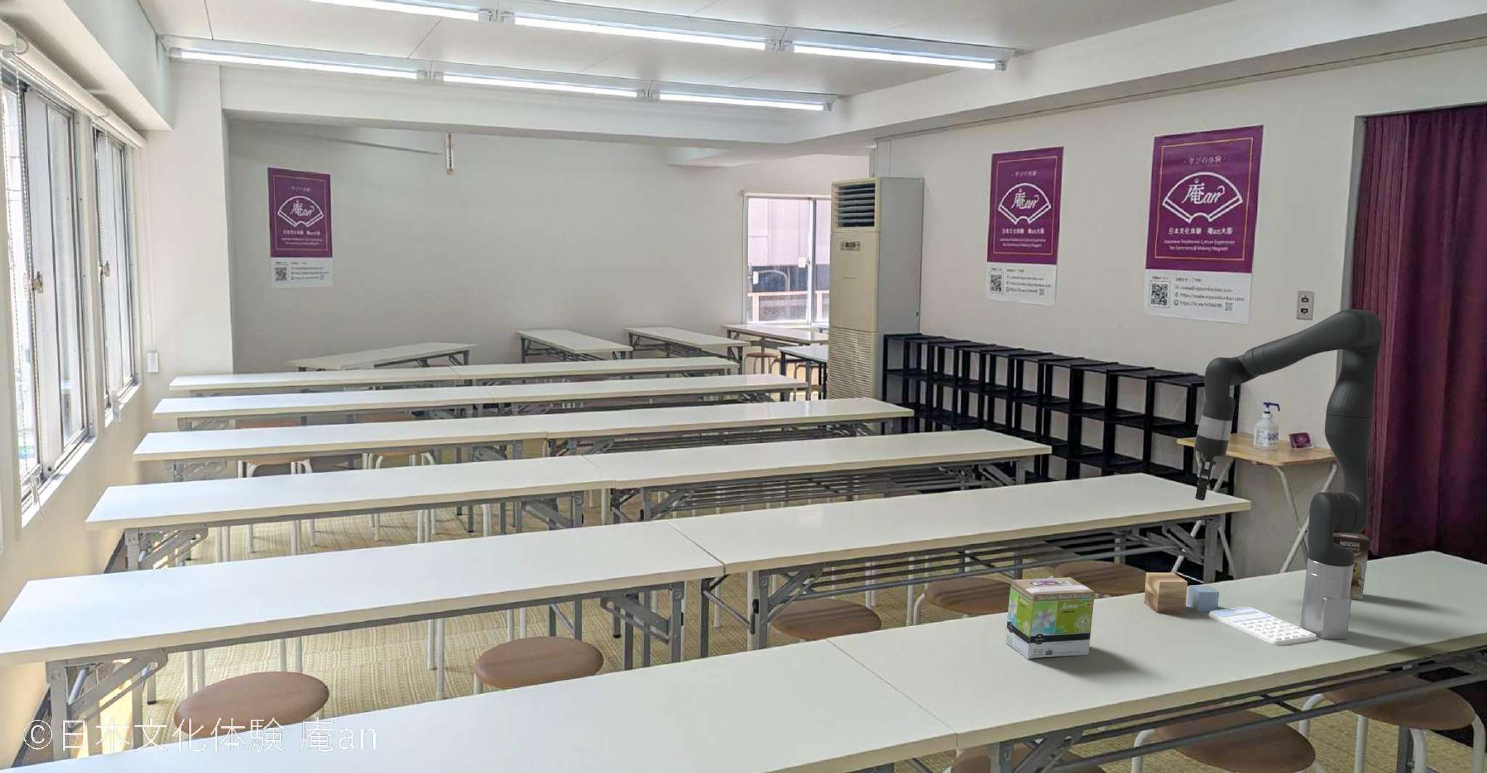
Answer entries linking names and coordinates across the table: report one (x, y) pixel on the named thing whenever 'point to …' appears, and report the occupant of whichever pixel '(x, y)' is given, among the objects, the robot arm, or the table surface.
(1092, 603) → the tea box
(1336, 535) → the coffee box
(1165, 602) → the base block
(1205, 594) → the blue cube
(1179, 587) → the top block
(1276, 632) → the calculator
